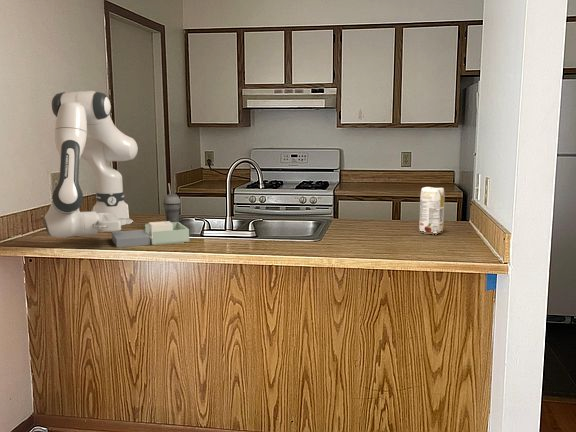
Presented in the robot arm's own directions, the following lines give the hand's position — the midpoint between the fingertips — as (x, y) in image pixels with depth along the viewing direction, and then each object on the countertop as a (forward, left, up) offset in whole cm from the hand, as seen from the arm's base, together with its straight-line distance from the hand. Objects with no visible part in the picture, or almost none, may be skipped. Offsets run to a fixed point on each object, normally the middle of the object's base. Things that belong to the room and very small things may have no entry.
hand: (130, 220), depth 223 cm
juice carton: (+30, +116, -8) cm, 120 cm away
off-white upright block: (0, +7, -4) cm, 9 cm away
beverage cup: (-18, +20, -8) cm, 28 cm away
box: (0, +13, -8) cm, 16 cm away
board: (0, 0, -8) cm, 8 cm away
